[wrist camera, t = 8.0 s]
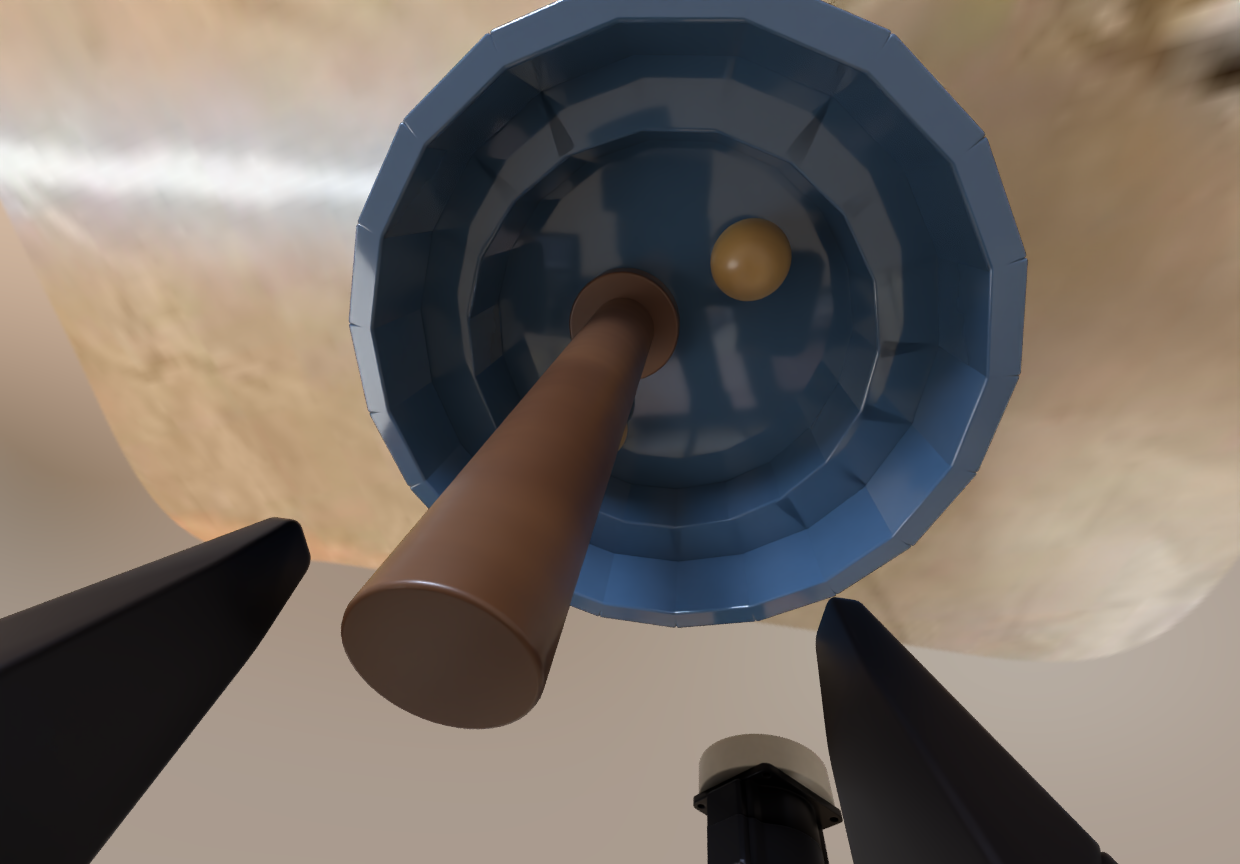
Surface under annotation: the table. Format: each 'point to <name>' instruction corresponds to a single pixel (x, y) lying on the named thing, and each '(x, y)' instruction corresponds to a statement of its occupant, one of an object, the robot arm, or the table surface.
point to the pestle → (512, 526)
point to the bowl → (703, 287)
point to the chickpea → (750, 259)
